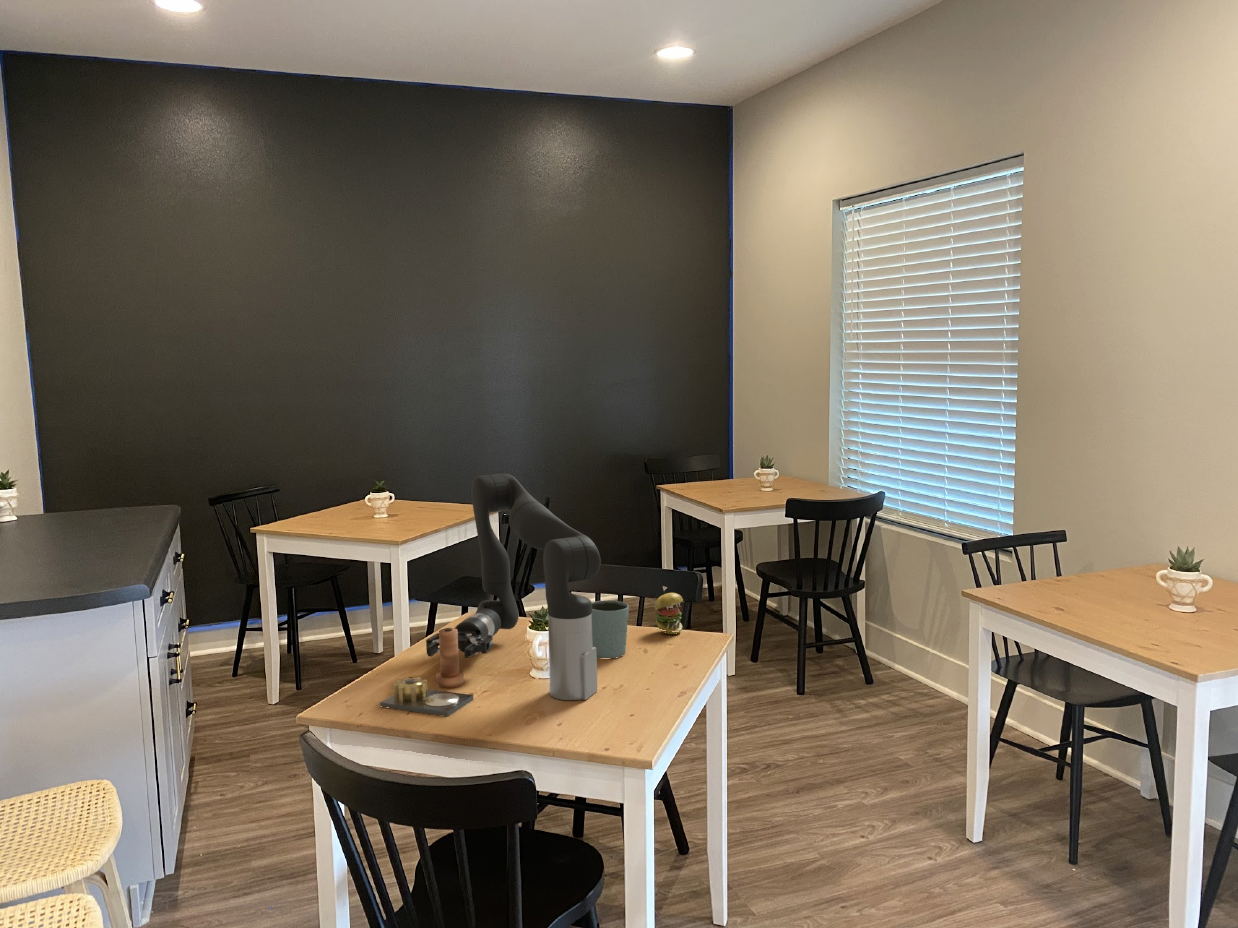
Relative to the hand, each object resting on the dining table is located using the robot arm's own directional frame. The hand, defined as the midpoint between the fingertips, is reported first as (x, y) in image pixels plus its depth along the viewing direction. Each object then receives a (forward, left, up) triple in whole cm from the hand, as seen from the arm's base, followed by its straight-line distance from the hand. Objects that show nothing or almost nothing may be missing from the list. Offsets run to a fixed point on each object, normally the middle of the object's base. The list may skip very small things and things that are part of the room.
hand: (447, 652), depth 199 cm
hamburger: (-33, -54, -7) cm, 64 cm away
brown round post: (0, -1, -7) cm, 7 cm away
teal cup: (-25, -32, -7) cm, 41 cm away
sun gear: (+2, +11, -7) cm, 13 cm away
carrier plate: (-2, +11, -7) cm, 13 cm away
